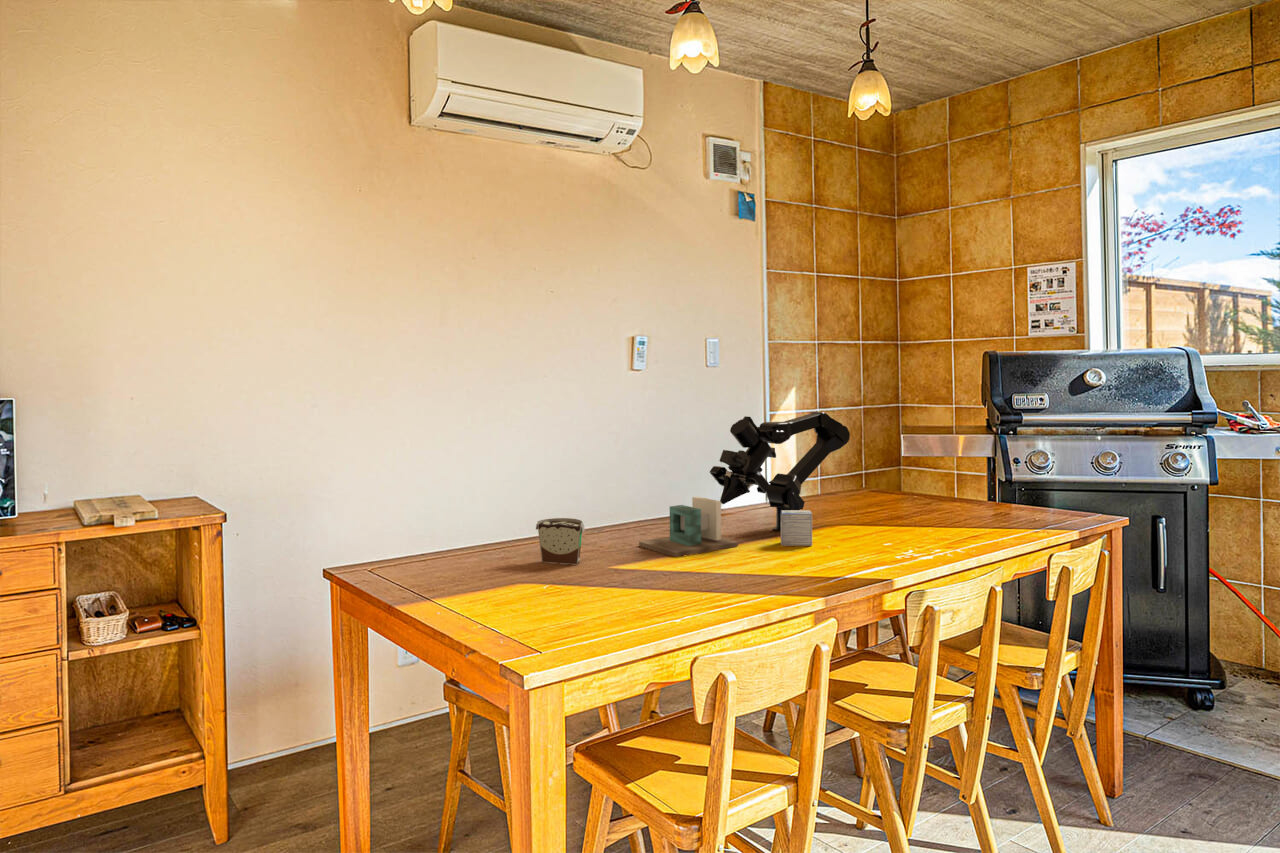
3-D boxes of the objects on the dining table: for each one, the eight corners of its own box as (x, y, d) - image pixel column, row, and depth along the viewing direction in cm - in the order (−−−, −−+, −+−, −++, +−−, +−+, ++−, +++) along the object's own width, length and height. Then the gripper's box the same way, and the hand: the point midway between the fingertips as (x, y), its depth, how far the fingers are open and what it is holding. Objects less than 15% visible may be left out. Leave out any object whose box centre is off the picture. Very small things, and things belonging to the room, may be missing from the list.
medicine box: (810, 542, 224) (810, 510, 223) (812, 546, 219) (812, 513, 218) (780, 542, 224) (780, 509, 224) (781, 546, 220) (781, 513, 219)
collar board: (699, 536, 233) (699, 499, 232) (738, 546, 220) (738, 507, 219) (639, 546, 222) (638, 507, 221) (676, 557, 209) (675, 516, 208)
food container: (593, 559, 207) (592, 519, 206) (583, 565, 201) (582, 523, 200) (547, 556, 211) (546, 516, 210) (536, 562, 205) (535, 521, 205)
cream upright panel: (696, 533, 229) (696, 496, 228) (721, 539, 220) (720, 501, 220) (673, 537, 224) (673, 499, 223) (697, 543, 216) (697, 504, 215)
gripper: (715, 436, 236) (683, 479, 230) (761, 441, 220) (728, 487, 215) (736, 463, 241) (705, 505, 235) (783, 470, 225) (751, 515, 220)
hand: (721, 503), depth 226 cm, fingers closed
